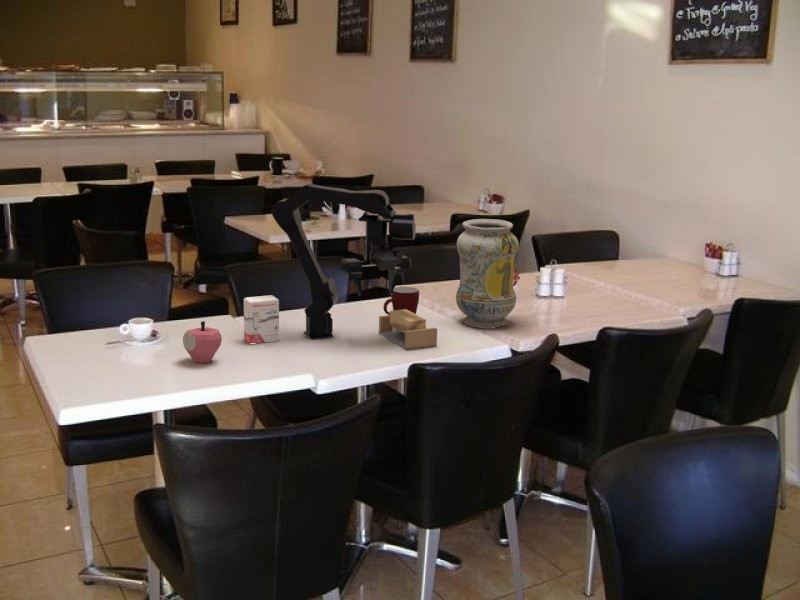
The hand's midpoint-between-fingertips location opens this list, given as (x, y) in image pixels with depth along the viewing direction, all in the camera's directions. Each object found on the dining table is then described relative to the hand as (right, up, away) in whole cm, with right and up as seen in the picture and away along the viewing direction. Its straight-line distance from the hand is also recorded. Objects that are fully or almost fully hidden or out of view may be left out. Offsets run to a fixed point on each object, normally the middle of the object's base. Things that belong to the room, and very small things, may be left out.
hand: (375, 294), depth 244 cm
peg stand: (+9, -12, +3) cm, 15 cm away
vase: (+32, -8, +22) cm, 39 cm away
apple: (-42, -17, -20) cm, 50 cm away
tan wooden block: (+9, -9, +2) cm, 13 cm away
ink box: (-31, -13, -1) cm, 33 cm away
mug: (+7, -8, +20) cm, 22 cm away
